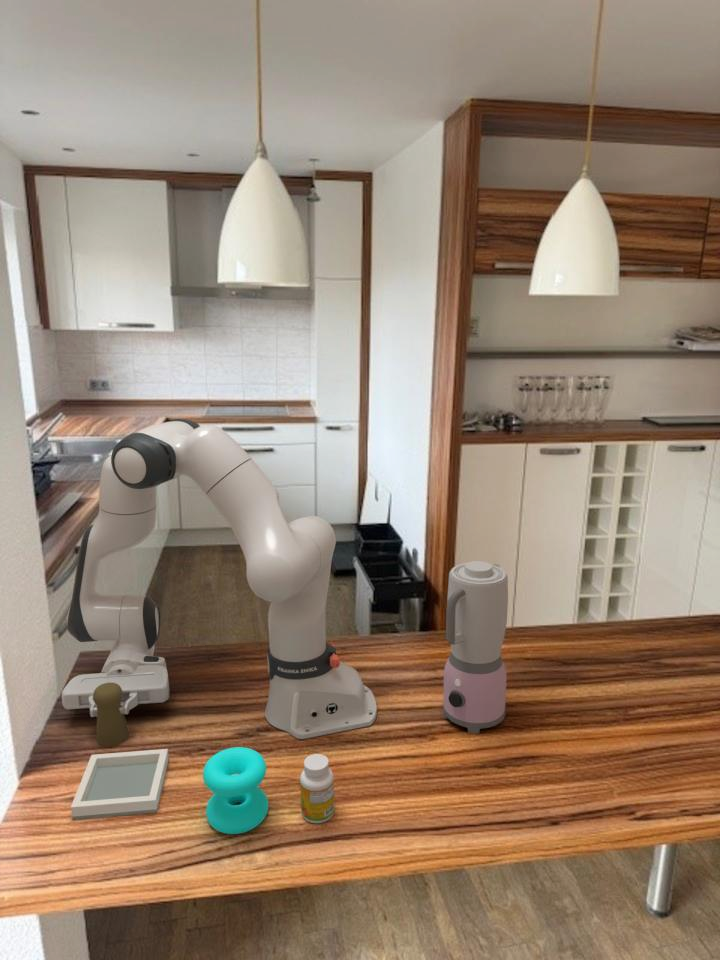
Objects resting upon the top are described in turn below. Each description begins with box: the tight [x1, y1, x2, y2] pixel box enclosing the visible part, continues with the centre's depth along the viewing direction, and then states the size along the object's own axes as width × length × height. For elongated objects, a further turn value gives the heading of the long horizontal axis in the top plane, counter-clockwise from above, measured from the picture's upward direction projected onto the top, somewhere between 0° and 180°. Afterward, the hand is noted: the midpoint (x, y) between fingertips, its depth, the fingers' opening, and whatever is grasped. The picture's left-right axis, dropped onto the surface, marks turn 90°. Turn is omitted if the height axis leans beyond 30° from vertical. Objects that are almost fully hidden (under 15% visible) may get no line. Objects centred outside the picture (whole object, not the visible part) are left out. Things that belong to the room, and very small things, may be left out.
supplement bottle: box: [299, 753, 335, 824], centre depth 116 cm, size 5×5×10 cm
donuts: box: [202, 746, 269, 835], centre depth 115 cm, size 10×10×10 cm
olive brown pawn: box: [93, 683, 130, 748], centre depth 136 cm, size 6×6×11 cm
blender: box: [442, 560, 509, 735], centre depth 137 cm, size 16×12×32 cm
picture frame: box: [70, 748, 170, 821], centre depth 123 cm, size 13×13×2 cm
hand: (108, 712), depth 135 cm, fingers closed on olive brown pawn, 4 cm apart
